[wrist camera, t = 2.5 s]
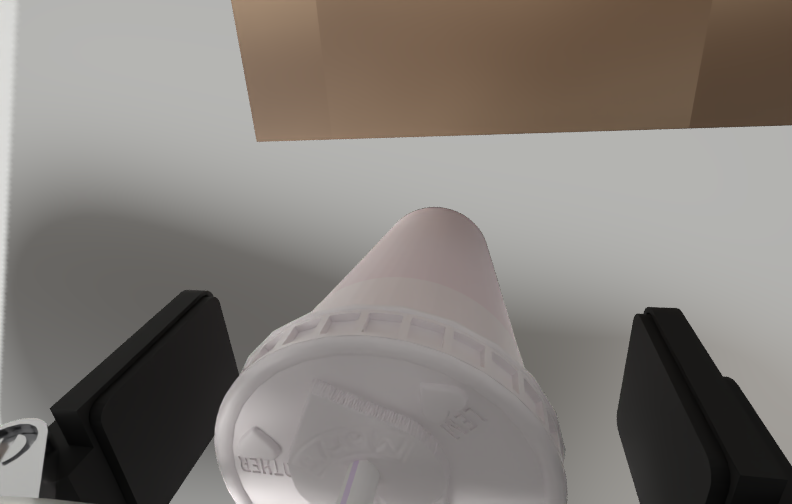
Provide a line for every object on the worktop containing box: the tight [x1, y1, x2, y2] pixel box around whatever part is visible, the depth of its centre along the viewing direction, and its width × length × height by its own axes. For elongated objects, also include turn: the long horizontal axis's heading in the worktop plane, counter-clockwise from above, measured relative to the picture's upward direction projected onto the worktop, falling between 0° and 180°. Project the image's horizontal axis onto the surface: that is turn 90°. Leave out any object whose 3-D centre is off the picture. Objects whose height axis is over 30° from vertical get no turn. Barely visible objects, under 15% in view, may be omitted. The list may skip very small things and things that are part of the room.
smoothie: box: [214, 207, 567, 504], centre depth 11 cm, size 6×6×14 cm
